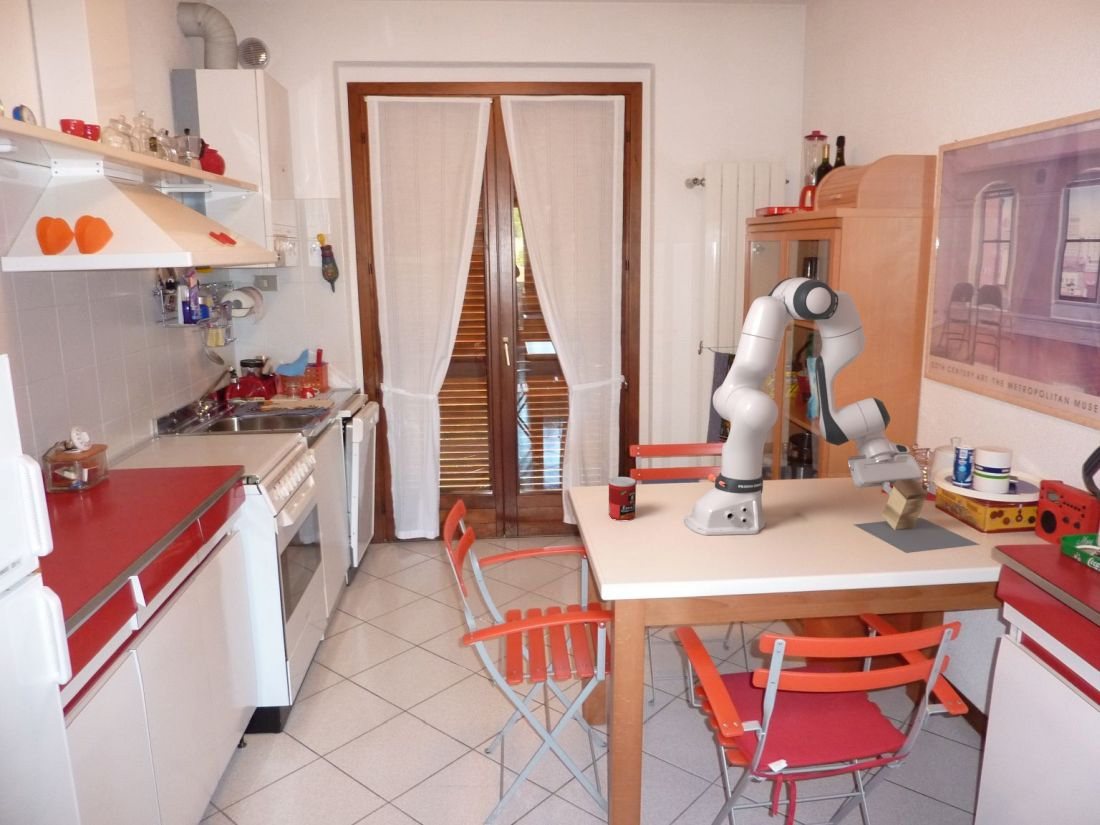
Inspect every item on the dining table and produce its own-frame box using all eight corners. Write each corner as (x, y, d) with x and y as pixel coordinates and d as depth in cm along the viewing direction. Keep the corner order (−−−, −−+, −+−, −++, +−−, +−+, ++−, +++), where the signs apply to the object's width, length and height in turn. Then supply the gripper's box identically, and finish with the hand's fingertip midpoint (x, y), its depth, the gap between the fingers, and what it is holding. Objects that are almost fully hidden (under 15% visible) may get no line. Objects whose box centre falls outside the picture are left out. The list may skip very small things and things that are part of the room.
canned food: (622, 523, 226) (623, 485, 224) (602, 516, 232) (603, 480, 230) (641, 517, 231) (641, 480, 229) (621, 510, 237) (621, 475, 235)
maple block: (894, 530, 218) (908, 495, 211) (881, 516, 223) (895, 481, 216) (913, 528, 219) (928, 493, 213) (900, 514, 224) (914, 479, 218)
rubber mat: (906, 555, 202) (906, 552, 202) (852, 526, 223) (853, 524, 222) (979, 546, 207) (979, 544, 207) (920, 519, 228) (920, 517, 228)
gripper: (850, 451, 223) (870, 495, 215) (913, 446, 228) (934, 489, 220) (839, 462, 228) (858, 506, 221) (901, 457, 233) (922, 499, 226)
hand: (897, 497), depth 221 cm, fingers closed
